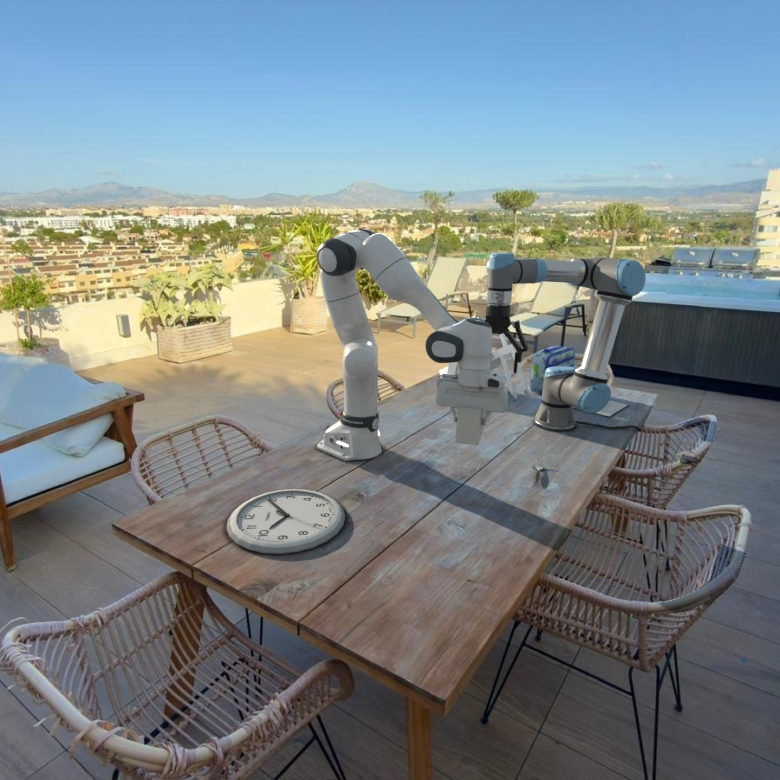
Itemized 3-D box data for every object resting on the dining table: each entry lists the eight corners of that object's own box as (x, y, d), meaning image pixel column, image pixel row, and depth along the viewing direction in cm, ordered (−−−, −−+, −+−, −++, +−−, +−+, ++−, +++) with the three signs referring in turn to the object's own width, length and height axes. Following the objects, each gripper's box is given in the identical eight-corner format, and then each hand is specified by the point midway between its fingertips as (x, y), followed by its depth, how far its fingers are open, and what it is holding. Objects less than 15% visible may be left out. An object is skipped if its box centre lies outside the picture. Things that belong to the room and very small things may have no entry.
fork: (531, 484, 156) (531, 478, 156) (536, 462, 170) (536, 457, 170) (540, 485, 155) (541, 479, 155) (544, 464, 170) (545, 458, 169)
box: (468, 414, 171) (470, 385, 168) (488, 416, 170) (490, 387, 167) (455, 442, 149) (457, 409, 146) (477, 445, 147) (480, 412, 144)
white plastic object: (461, 429, 252) (437, 405, 227) (444, 352, 274) (420, 323, 250) (535, 404, 240) (518, 377, 215) (510, 326, 262) (492, 293, 237)
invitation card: (608, 416, 214) (573, 407, 224) (608, 416, 214) (573, 408, 224) (628, 404, 229) (594, 396, 238) (628, 405, 229) (594, 397, 238)
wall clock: (345, 545, 122) (213, 550, 119) (345, 551, 122) (214, 556, 120) (344, 484, 150) (238, 487, 148) (345, 490, 151) (239, 492, 148)
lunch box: (546, 399, 235) (551, 353, 228) (525, 393, 242) (530, 349, 236) (574, 387, 252) (579, 345, 246) (553, 383, 260) (558, 341, 253)
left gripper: (434, 375, 146) (432, 422, 150) (509, 383, 140) (504, 431, 145) (439, 370, 152) (436, 415, 156) (511, 377, 146) (506, 423, 150)
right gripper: (456, 303, 164) (453, 368, 170) (538, 308, 155) (532, 377, 161) (462, 300, 170) (459, 363, 177) (541, 304, 162) (534, 371, 168)
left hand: (470, 422), depth 150 cm, fingers closed on box, 6 cm apart
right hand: (493, 369), depth 169 cm, fingers open, 13 cm apart
